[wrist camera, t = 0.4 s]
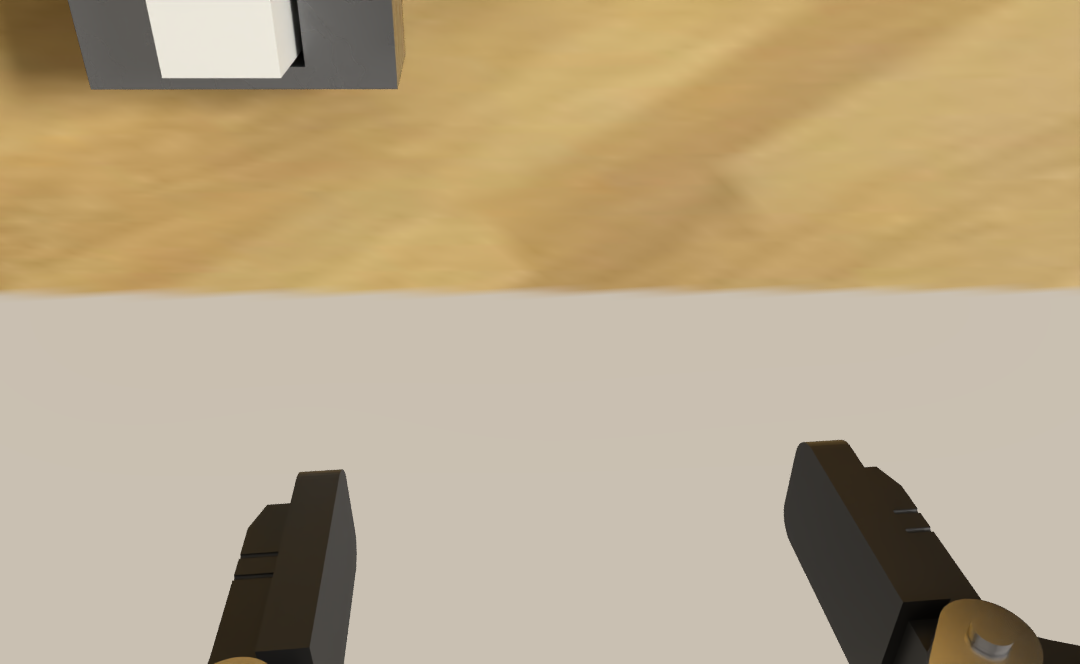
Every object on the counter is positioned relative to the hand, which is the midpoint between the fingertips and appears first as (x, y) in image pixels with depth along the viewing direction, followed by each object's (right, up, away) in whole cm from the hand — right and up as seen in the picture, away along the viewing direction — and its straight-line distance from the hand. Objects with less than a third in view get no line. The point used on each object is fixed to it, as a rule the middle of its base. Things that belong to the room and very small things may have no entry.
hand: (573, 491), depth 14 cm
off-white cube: (-12, +15, +16) cm, 25 cm away
